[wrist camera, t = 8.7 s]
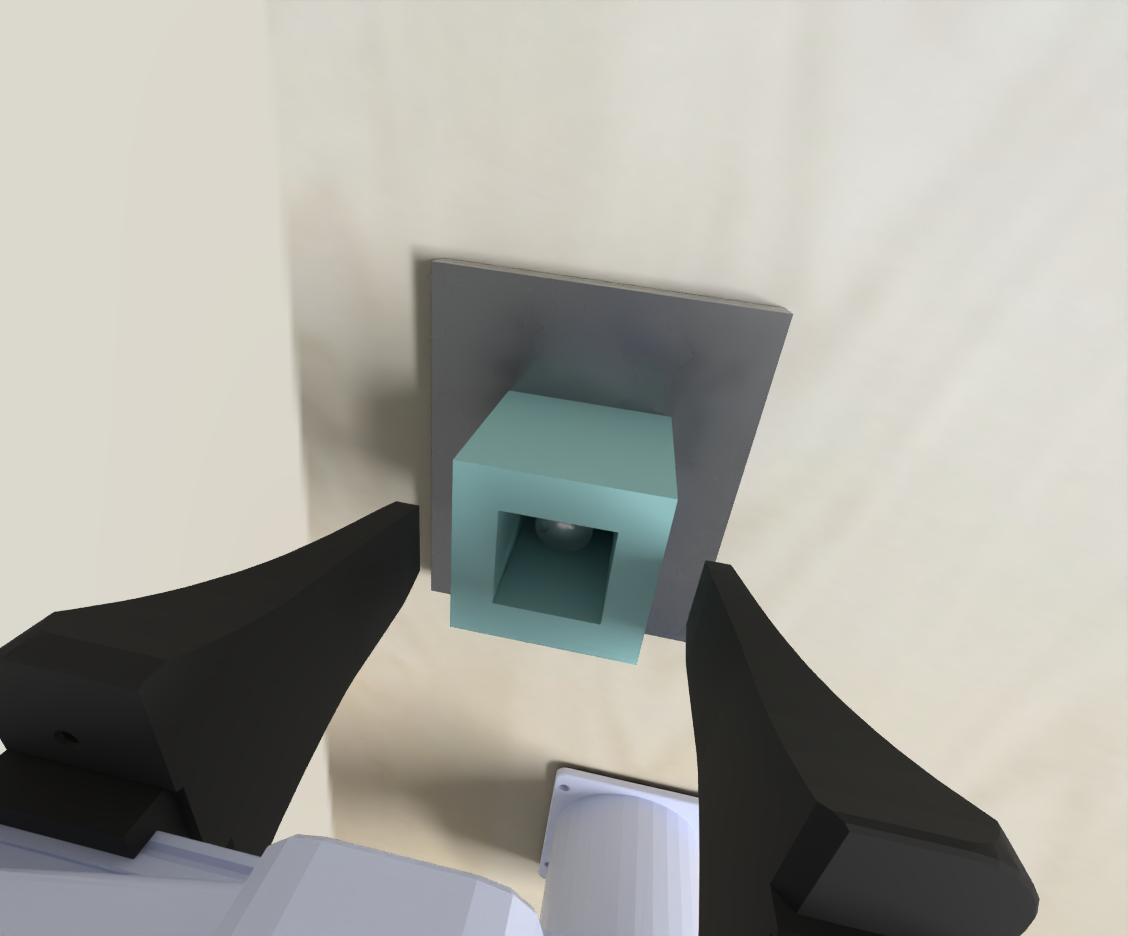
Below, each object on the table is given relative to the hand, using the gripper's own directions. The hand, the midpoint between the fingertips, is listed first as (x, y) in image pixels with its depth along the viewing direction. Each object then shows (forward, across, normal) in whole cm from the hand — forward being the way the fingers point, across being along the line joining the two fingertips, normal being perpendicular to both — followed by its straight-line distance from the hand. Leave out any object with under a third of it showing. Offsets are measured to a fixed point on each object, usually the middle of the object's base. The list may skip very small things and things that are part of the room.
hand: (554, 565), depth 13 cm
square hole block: (+5, 0, 0) cm, 5 cm away
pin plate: (+6, 0, 0) cm, 6 cm away
